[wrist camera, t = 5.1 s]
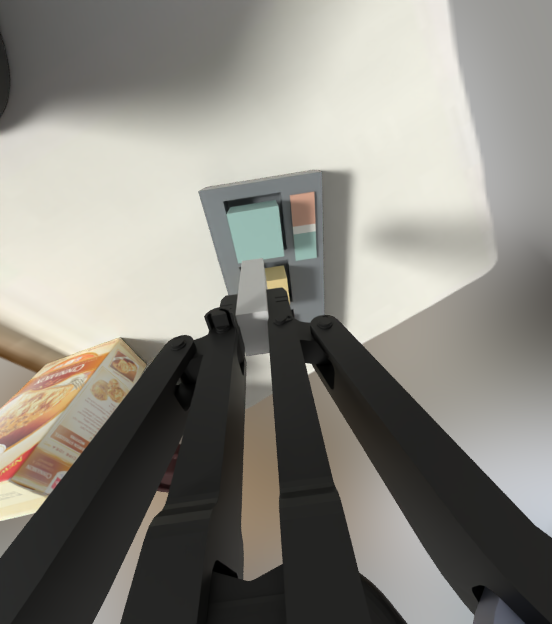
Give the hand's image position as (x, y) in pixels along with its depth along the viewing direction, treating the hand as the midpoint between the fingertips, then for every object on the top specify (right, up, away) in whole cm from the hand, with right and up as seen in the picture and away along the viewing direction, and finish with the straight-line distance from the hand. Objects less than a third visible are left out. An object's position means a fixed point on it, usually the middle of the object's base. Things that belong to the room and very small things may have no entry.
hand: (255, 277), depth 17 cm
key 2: (0, +6, +7) cm, 10 cm away
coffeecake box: (-29, -11, +22) cm, 38 cm away
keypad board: (+1, +3, +15) cm, 15 cm away
